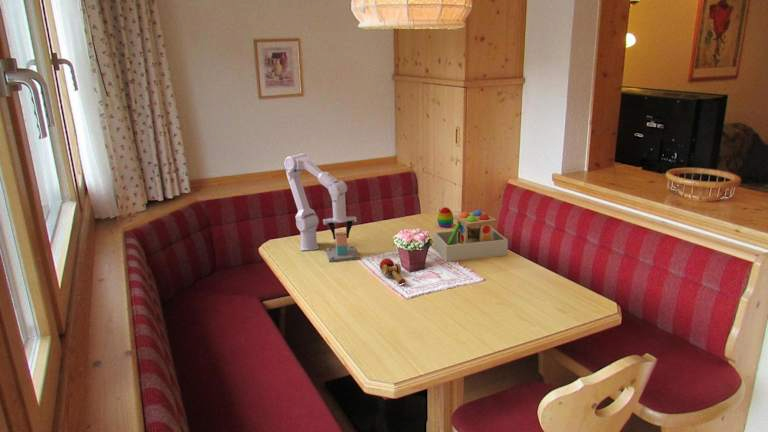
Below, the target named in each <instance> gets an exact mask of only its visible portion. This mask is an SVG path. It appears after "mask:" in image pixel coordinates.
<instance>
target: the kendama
mask: <svg viewBox="0 0 768 432" xmlns="http://www.w3.org/2000/svg"><path fill="white" fill-rule="evenodd" d="M379 269H380V271H381V274H382V275H383V276H385V277H386V276H388V274H391V275H392V276H393V278H394V279H395V281H396V282H397V284H398V285H399V284H402V283H405V284H406V279H405V278H403V277H402V276H401V273H402V267H401V264H400V263H394V261H393V260H392V259H391V258H387V257H386V258H383V259H382V260H381V261H380V262H379ZM399 274H400V275H399Z"/></svg>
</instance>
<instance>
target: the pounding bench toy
mask: <svg viewBox="0 0 768 432" xmlns="http://www.w3.org/2000/svg"><path fill="white" fill-rule="evenodd" d="M453 218H454V220H456V225H455V227H454V229H453V230H454V231H453V230H452V231H453V233H452V235H451V237H450V239H449V241H448V243H447V245H451V244H452V242H453V240H454V238H455V236H456V234H457V244H466V243H475V242H485V241H492V240H493V239H494V238H493V237H492V228H493V224H496V223H497V218H494V217H493V216H490V215H489V214H487V213H485V212H483V211H481V209H476V210H474V211H473V212H468V211H463V212H461V213H460V214H459V213H458V214H453ZM469 232H471V233H472V234H473V235H471V236H469ZM454 245H456V244H454Z"/></svg>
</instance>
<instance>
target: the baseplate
mask: <svg viewBox="0 0 768 432" xmlns="http://www.w3.org/2000/svg"><path fill="white" fill-rule="evenodd" d="M325 253H326V256H327V258H328V259H327V260H328V262H329V263H334V262H335V263H336V262H345V261H353V260H359V259H360V257H359V255H358V253H357V250H356V248H355V246H354V245H347V254H348V255H337V252H336V247H327V248H325Z"/></svg>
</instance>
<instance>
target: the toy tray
mask: <svg viewBox="0 0 768 432" xmlns="http://www.w3.org/2000/svg"><path fill="white" fill-rule="evenodd" d="M453 231H454V229H453V230H447V231H446V230H445V231H444V230H443V231H436V232H433V248H434V249H435V250H436V251H437V253H438V254H439V255H440V256H441V257H442V258H443V260H445V262H448V263H449V262H455V261H457V262H458V261H465V260H474V259H482V258H491V257H493V258H494V257H500V256H502V257H503V256H507V255H508V248H509V247H508V245H509V244H508V243H509V240H508V239H507V238H506V237H505V236H504V235H502V234H501V233H500V232H499V231H497V230H496V229H495V228H493V227H492V237H493V238H494V239H493V240H492V241H485V242H475V243H466V244H457V234H456V236H455V238H454V240H453V242H452V244H451V245H447V243H448V241H449V239H450V237H451V235H452V233H453ZM471 235H473V234H472V233H471V232H469V236H471ZM454 244H456V245H454Z"/></svg>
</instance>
